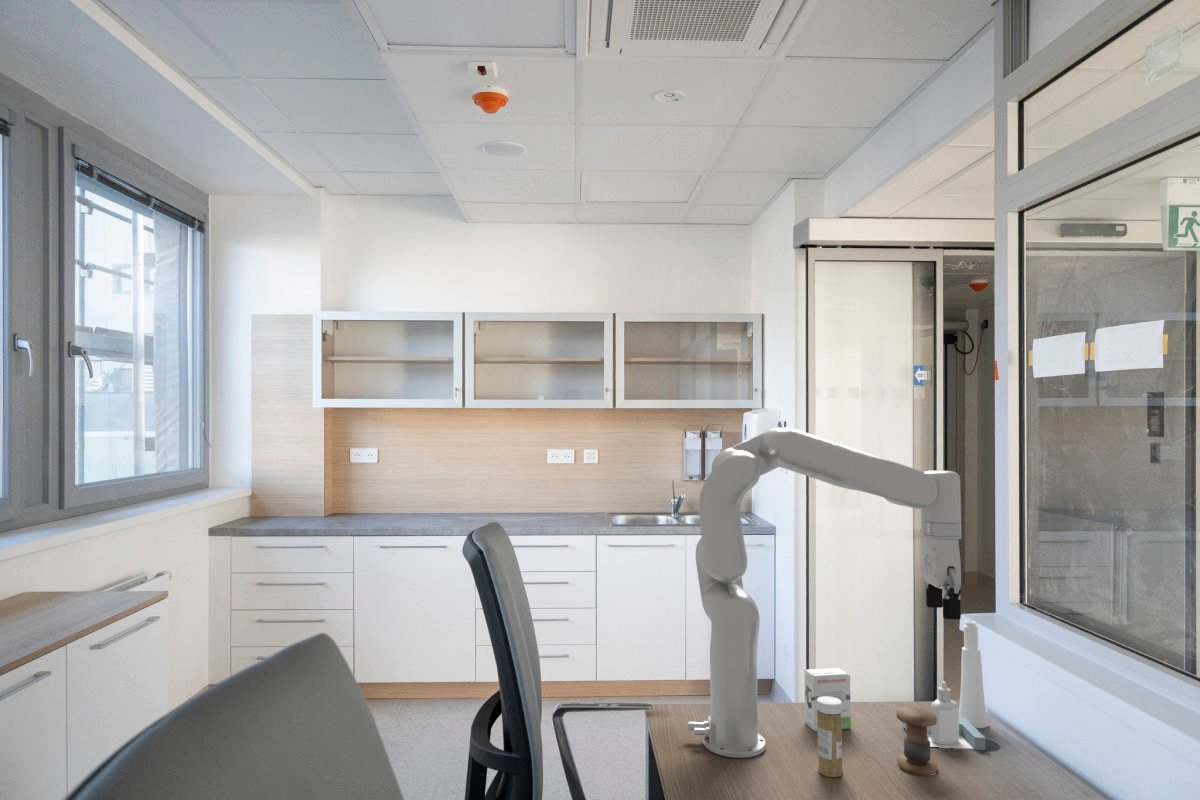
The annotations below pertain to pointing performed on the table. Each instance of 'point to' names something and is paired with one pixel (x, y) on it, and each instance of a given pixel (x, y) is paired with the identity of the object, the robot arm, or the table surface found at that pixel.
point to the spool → (917, 741)
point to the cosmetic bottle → (972, 679)
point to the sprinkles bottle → (829, 736)
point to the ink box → (826, 693)
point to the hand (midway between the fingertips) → (942, 612)
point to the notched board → (962, 737)
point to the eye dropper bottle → (945, 718)
